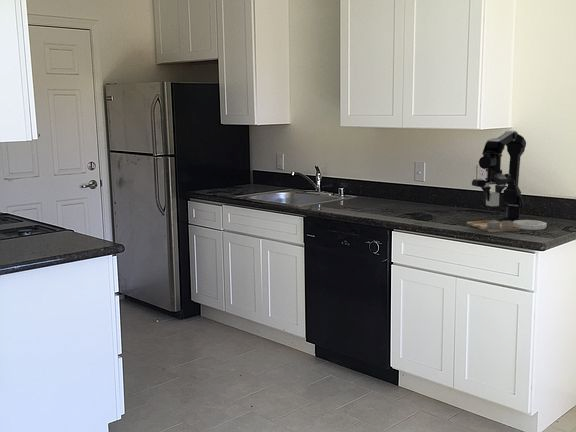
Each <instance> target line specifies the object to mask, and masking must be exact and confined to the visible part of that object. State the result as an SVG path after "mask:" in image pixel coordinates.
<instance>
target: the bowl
mask: <svg viewBox="0 0 576 432" xmlns="http://www.w3.org/2000/svg"><path fill="white" fill-rule="evenodd" d="M512 222H513V226H515V227H518V228H520V230H525V231H526V230H528V231H529V230H530V231H534V230H535V231H538V230H545V229H546V228H547V225H548V224H547V222H544V221H541V220H534V219H532V220H531V219H522V220H513V221H512Z"/></svg>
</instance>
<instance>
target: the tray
mask: <svg viewBox="0 0 576 432" xmlns="http://www.w3.org/2000/svg"><path fill="white" fill-rule="evenodd" d="M491 221H494V222H500V229H488V228H487V222H491ZM466 225H468V226H471V227H475V228H476V229H480V230H481V231H482V230H483V231H486V232H489V233H495V232H496V233H498V232H500V233H501V232H515V231H516V232H518V231H521V229H520V228H518V227H515V226H513V228H506V229H502V221H498V220H476V221H466Z"/></svg>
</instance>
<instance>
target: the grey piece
mask: <svg viewBox="0 0 576 432" xmlns="http://www.w3.org/2000/svg"><path fill="white" fill-rule="evenodd" d="M490 221H491V222H487V228H488V229H500V222H501V221H499V222H494V221H492V220H490Z"/></svg>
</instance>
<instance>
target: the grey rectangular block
mask: <svg viewBox="0 0 576 432" xmlns="http://www.w3.org/2000/svg"><path fill="white" fill-rule="evenodd" d="M485 206H489V207H499V206H500V197H499V193H498V192H495V191H490V198H489V201H487V199H486V198H485Z"/></svg>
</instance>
